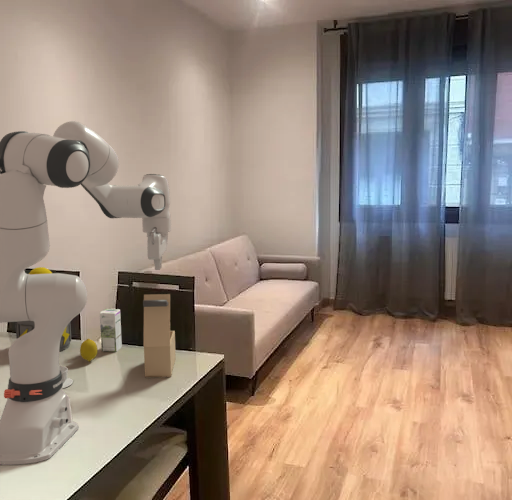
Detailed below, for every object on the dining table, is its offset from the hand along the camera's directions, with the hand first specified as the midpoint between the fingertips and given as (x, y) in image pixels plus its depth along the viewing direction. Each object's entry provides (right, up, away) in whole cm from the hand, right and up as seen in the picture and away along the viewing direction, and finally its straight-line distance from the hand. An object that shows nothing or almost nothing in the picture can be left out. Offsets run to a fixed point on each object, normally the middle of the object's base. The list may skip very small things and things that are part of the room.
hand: (158, 269), depth 163 cm
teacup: (-29, -35, -9) cm, 46 cm away
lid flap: (+1, -16, -5) cm, 16 cm away
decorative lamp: (-46, -30, +24) cm, 60 cm away
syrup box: (-21, -30, +22) cm, 43 cm away
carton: (0, -32, +4) cm, 33 cm away
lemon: (-25, -32, +10) cm, 42 cm away
